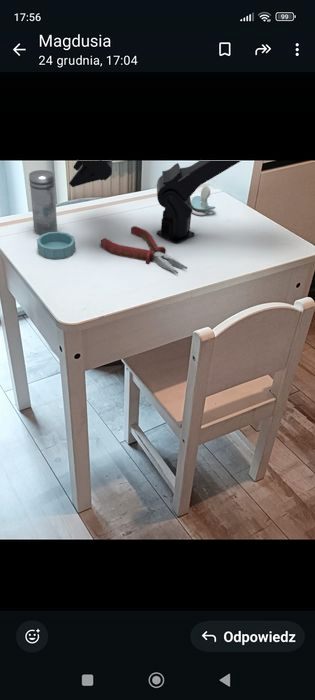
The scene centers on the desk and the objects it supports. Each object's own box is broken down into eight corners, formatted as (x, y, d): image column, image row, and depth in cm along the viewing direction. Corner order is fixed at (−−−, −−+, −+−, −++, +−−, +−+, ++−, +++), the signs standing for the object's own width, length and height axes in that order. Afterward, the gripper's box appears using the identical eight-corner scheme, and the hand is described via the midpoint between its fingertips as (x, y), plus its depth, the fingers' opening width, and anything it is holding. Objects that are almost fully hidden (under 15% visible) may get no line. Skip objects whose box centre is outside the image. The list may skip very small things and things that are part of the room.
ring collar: (59, 238, 127) (58, 228, 125) (82, 251, 123) (82, 241, 121) (30, 249, 122) (29, 239, 121) (53, 262, 118) (52, 252, 117)
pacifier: (197, 219, 139) (217, 214, 141) (198, 195, 135) (220, 190, 137) (182, 207, 144) (202, 203, 146) (183, 183, 140) (204, 179, 142)
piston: (47, 222, 132) (43, 168, 124) (62, 230, 130) (59, 175, 122) (29, 229, 129) (23, 173, 121) (43, 237, 126) (39, 181, 118)
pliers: (163, 285, 115) (164, 274, 113) (97, 248, 125) (97, 237, 124) (200, 266, 121) (201, 256, 120) (135, 233, 132) (135, 223, 130)
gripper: (99, 83, 119) (49, 134, 125) (93, 109, 104) (37, 165, 111) (136, 124, 124) (86, 170, 131) (135, 153, 110) (79, 205, 116)
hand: (72, 176), depth 122 cm, fingers open, 9 cm apart
